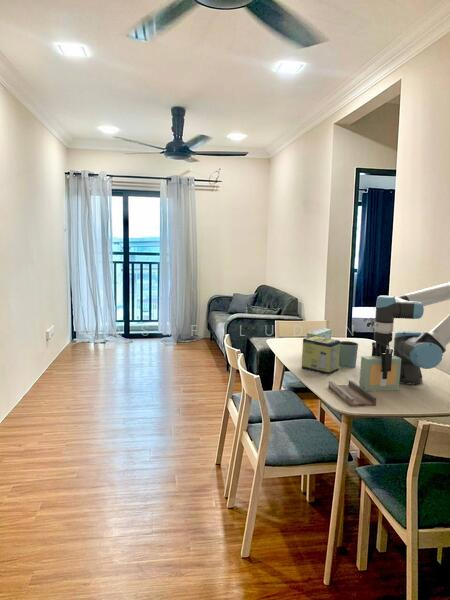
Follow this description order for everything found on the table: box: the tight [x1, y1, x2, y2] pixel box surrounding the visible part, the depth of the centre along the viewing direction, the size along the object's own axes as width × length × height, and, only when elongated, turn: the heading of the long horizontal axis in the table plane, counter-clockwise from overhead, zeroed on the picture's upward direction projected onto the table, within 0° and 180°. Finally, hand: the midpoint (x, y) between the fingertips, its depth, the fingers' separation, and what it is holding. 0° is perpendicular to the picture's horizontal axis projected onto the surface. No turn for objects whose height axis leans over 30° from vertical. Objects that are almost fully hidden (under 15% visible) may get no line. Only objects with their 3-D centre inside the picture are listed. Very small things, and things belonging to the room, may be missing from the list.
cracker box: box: [358, 355, 401, 392], centre depth 189 cm, size 16×5×14 cm, turn 99°
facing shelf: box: [328, 380, 377, 407], centre depth 179 cm, size 11×22×3 cm, turn 9°
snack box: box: [306, 327, 333, 339], centre depth 238 cm, size 21×6×15 cm, turn 143°
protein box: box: [301, 336, 341, 376], centre depth 215 cm, size 10×16×16 cm
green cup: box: [339, 340, 359, 369], centre depth 223 cm, size 10×10×12 cm
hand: (379, 383), depth 190 cm, fingers closed on cracker box, 5 cm apart
